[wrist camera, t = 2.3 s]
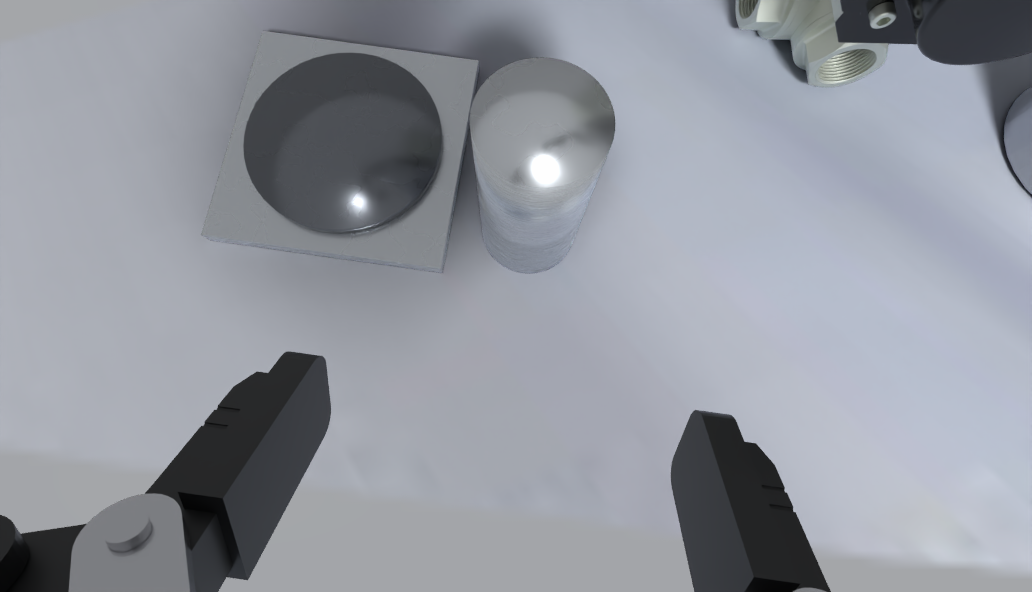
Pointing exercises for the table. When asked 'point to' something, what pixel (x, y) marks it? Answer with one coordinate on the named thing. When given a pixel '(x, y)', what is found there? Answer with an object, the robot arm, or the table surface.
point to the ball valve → (888, 32)
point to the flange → (346, 152)
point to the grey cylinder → (537, 158)
